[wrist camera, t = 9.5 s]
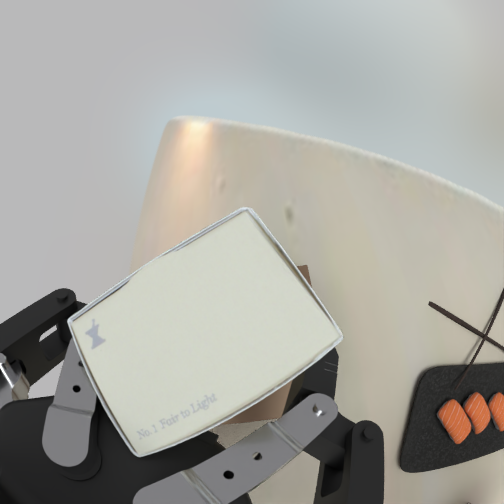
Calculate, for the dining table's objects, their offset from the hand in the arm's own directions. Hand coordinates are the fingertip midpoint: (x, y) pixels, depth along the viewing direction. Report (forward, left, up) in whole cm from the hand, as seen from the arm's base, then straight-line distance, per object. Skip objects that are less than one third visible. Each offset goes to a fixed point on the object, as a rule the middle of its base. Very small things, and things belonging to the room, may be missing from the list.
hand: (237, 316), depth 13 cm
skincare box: (+1, +1, -6) cm, 6 cm away
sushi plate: (-32, +12, -18) cm, 39 cm away
